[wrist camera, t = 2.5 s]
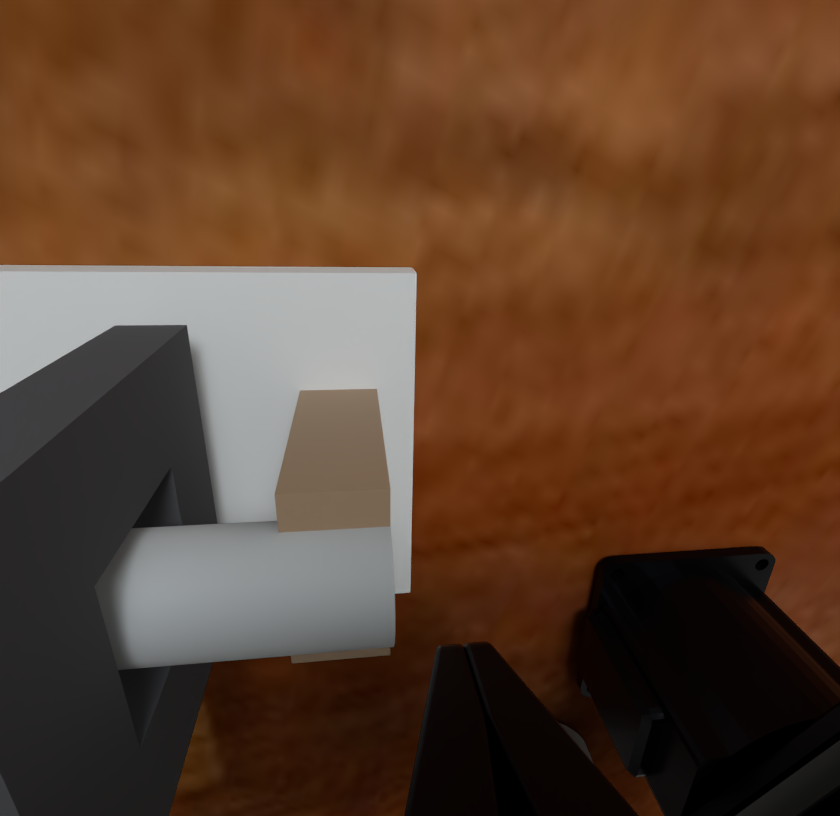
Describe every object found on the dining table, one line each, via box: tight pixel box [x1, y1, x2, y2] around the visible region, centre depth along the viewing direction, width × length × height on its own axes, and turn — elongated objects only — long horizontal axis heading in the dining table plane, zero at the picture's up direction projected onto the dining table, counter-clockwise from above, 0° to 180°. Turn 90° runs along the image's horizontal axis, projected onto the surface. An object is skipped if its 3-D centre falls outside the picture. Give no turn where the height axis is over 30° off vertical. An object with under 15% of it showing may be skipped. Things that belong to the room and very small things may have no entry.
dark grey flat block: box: [0, 325, 217, 816], centre depth 9 cm, size 2×8×8 cm, turn 179°
